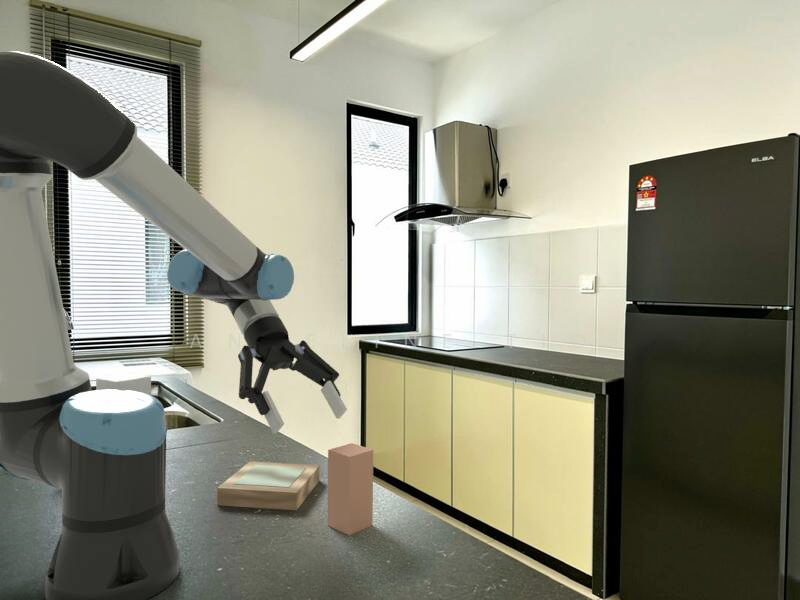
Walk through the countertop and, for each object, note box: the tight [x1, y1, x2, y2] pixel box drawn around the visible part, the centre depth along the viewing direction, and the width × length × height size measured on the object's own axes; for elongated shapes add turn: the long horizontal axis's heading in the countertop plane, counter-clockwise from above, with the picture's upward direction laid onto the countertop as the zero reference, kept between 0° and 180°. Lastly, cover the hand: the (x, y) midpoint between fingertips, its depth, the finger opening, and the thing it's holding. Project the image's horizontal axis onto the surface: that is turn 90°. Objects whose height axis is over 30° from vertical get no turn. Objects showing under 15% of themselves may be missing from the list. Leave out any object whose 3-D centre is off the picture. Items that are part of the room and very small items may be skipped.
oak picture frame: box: [216, 460, 321, 511], centre depth 99 cm, size 14×14×3 cm
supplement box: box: [95, 373, 152, 396], centre depth 132 cm, size 9×9×15 cm
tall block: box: [327, 443, 374, 536], centre depth 86 cm, size 5×5×12 cm
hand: (312, 421), depth 93 cm, fingers open, 13 cm apart
